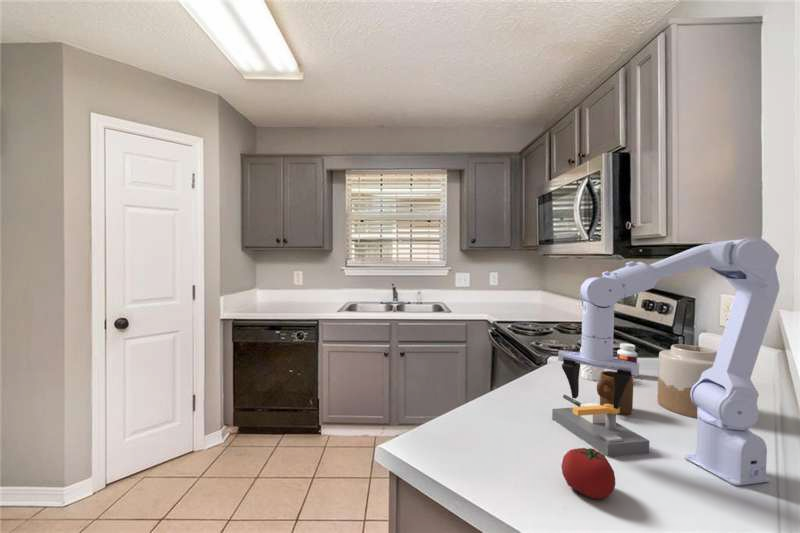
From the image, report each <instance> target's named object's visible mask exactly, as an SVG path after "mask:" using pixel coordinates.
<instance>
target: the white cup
mask: <svg viewBox="0 0 800 533" xmlns="http://www.w3.org/2000/svg"><path fill="white" fill-rule="evenodd" d="M579 353H581V346H580V348H579ZM580 371H581V375H580V376H581V378H582V379H585V380H588V381H593V382H595V381H596V382H598V381H599V380H600V379H601V373H602V372H603V371H605V368H600V367H594V366H589V365H584V364H580Z"/></svg>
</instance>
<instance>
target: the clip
mask: <svg viewBox="0 0 800 533" xmlns="http://www.w3.org/2000/svg"><path fill="white" fill-rule="evenodd" d="M599 405H600V404H599ZM572 408H573V413H574V414H575V415H577V416H582V415H596V414H616V415H619V414H618V413H620V407H619V408H618V409H615V408H614V405H612V404H604V405H600V406H584V407H578V406H573V407H572Z"/></svg>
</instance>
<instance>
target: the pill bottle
mask: <svg viewBox="0 0 800 533" xmlns="http://www.w3.org/2000/svg"><path fill="white" fill-rule="evenodd" d="M619 348H620V349H617V352H616V359H620V360H624V361H629V362H633V363H638V353H637V352H636V345H635V344H631V343H626V342H625V343H622V342H621V343H619ZM615 372H617V371H616V370H615ZM637 376H638V375H632V377H634V378H637Z"/></svg>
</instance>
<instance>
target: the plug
mask: <svg viewBox="0 0 800 533" xmlns="http://www.w3.org/2000/svg"><path fill="white" fill-rule="evenodd" d="M562 398H563V399H564V400H566V401H568V402H570V403H571V404H574V406H576V407H584V406H600V403H597V402H586V403H585V402H582V403H581V402H580V401H577V400H576V399H575V398H572V397H570V396H568V395H567V394H563V396H562ZM581 417H583V418H584V419H586V420H588V421H589V422H591V423H605V417H606V414H596V415H582V416H581Z"/></svg>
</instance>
